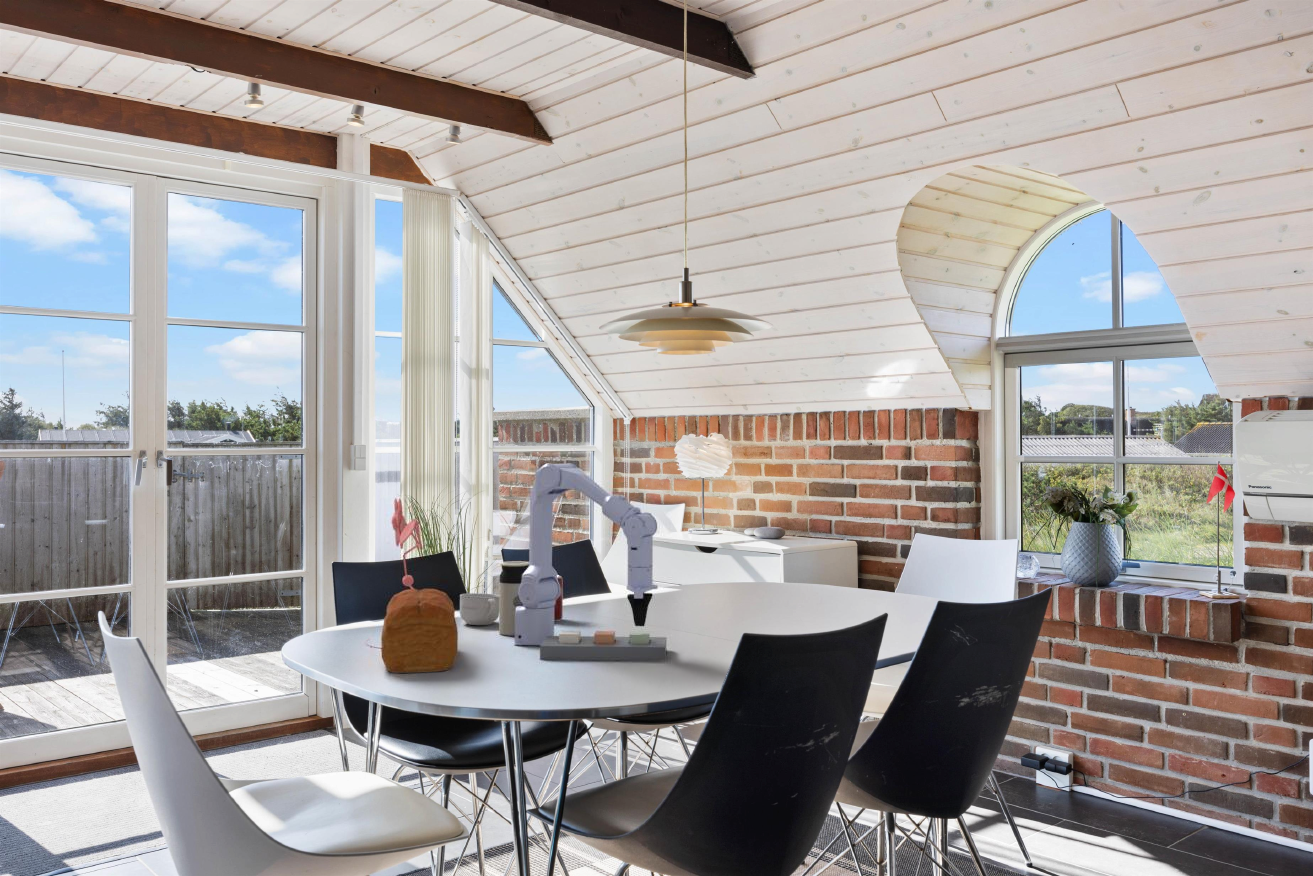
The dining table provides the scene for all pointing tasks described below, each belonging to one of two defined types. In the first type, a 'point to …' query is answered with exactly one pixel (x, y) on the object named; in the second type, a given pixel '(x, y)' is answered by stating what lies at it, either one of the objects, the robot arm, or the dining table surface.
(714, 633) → the dining table surface
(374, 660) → the dining table surface
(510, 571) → the travel mug
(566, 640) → the cream button
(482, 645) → the dining table surface
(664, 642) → the button panel
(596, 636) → the rust button
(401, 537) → the figurine
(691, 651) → the dining table surface
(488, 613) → the teacup
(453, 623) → the bread
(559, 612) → the soda can
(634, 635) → the sage button
